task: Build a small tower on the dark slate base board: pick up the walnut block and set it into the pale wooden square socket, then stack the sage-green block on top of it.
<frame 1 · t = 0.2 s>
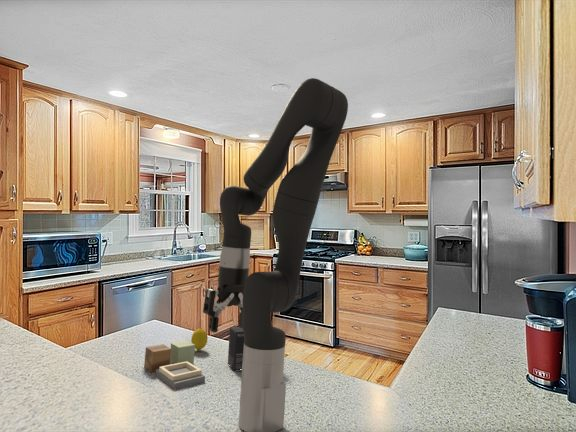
hand: (228, 329, 89), 17 cm above the countertop, tool pointing down, fingers open, 8 cm apart
small box: (249, 366, 113), on the countertop
lemon: (198, 351, 125), on the countertop
base board: (179, 378, 100), on the countertop
walnut block: (156, 368, 106), on the countertop
sage block: (181, 363, 112), on the countertop
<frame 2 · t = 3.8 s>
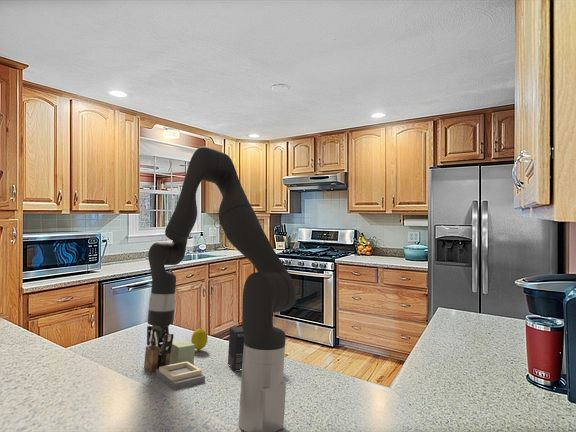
hand: (156, 364, 106), 1 cm above the countertop, tool pointing down, fingers closed on walnut block, 5 cm apart
walnut block: (156, 368, 106), on the countertop, touching gripper
everything else where it was.
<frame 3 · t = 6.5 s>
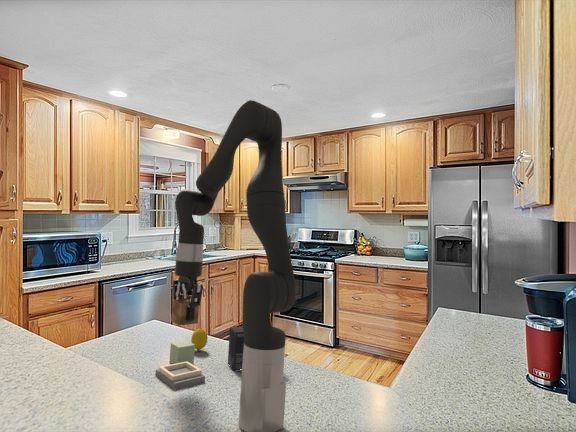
hand: (184, 318, 101), 17 cm above the countertop, tool pointing down, fingers closed on walnut block, 5 cm apart
walnut block: (184, 322, 101), point 16 cm above the countertop, touching gripper
everything else where it was.
when the fingers open (4 cm above the countertop, at t = 9.1 s): walnut block drops 2 cm, resting on base board.
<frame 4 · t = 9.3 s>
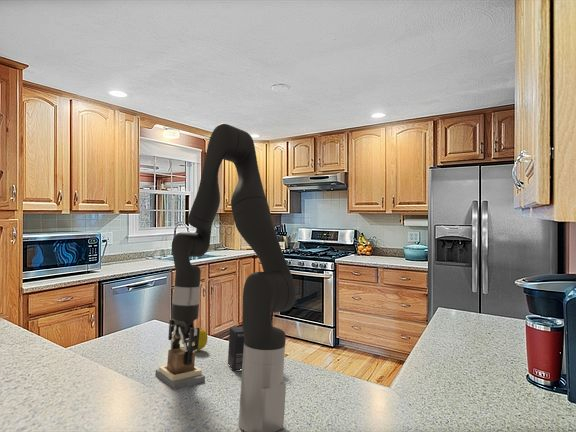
hand: (181, 360, 100), 5 cm above the countertop, tool pointing down, fingers open, 7 cm apart
walnut block: (180, 372, 100), point 1 cm above the countertop, touching base board
everything else where it was.
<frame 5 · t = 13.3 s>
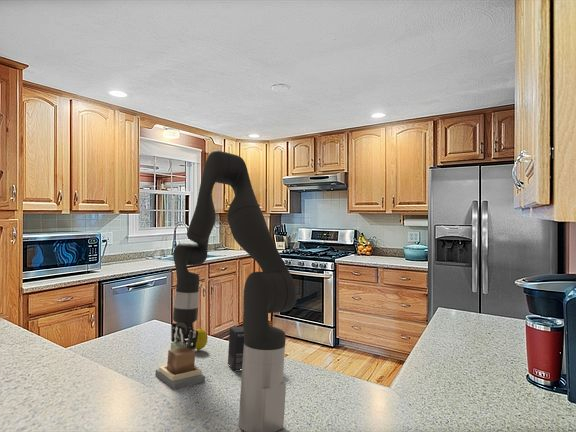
hand: (181, 359, 112), 1 cm above the countertop, tool pointing down, fingers closed on sage block, 5 cm apart
sage block: (181, 363, 112), on the countertop, touching gripper
everything else where it was.
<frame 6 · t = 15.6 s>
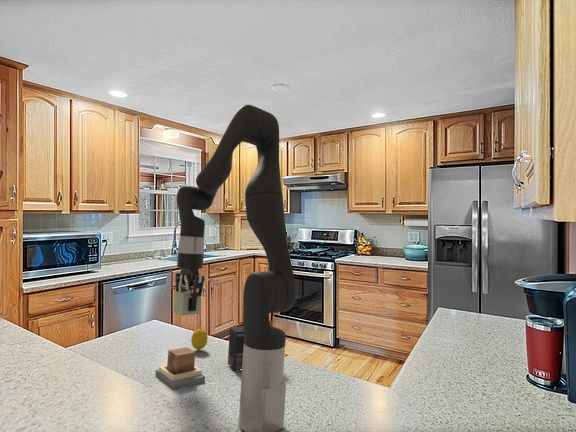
hand: (186, 309, 104), 19 cm above the countertop, tool pointing down, fingers closed on sage block, 5 cm apart
sage block: (186, 313, 104), point 17 cm above the countertop, touching gripper
everything else where it was.
when the fingers open (10 cm above the countertop, at t = 18.2 s): sage block drops 1 cm, resting on walnut block.
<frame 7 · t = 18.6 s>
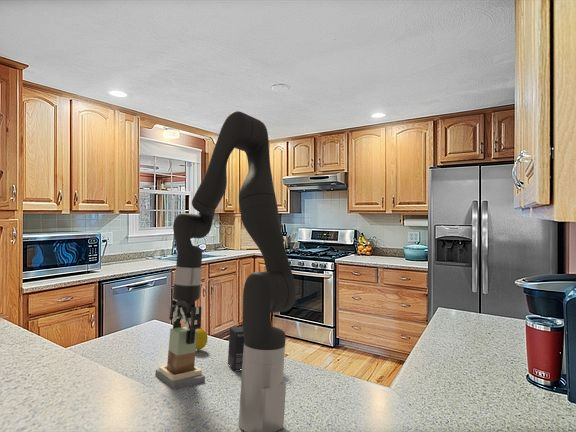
hand: (182, 339, 100), 11 cm above the countertop, tool pointing down, fingers open, 8 cm apart
walnut block: (180, 372, 100), point 1 cm above the countertop, touching base board, sage block
sage block: (182, 351, 100), point 7 cm above the countertop, touching walnut block
everything else where it was.
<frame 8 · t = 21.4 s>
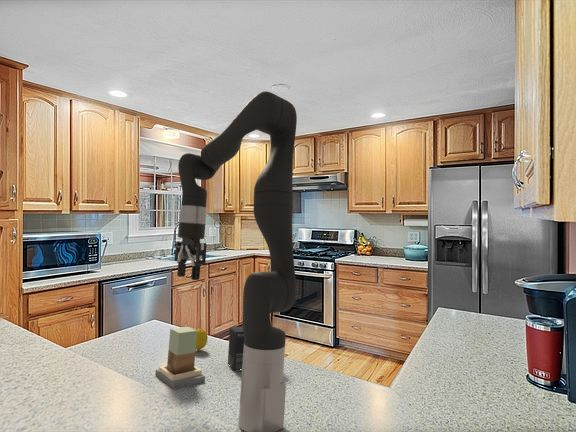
hand: (187, 278, 102), 28 cm above the countertop, tool pointing down, fingers open, 8 cm apart
nothing on the countertop moved.
at the end: walnut block 0.0 cm off-centre on the base board, point 1.5 cm above the base board's base; sage block 0.1 cm off-centre on the walnut block, point 6.0 cm above the walnut block's base; sage block tilted 0° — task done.
